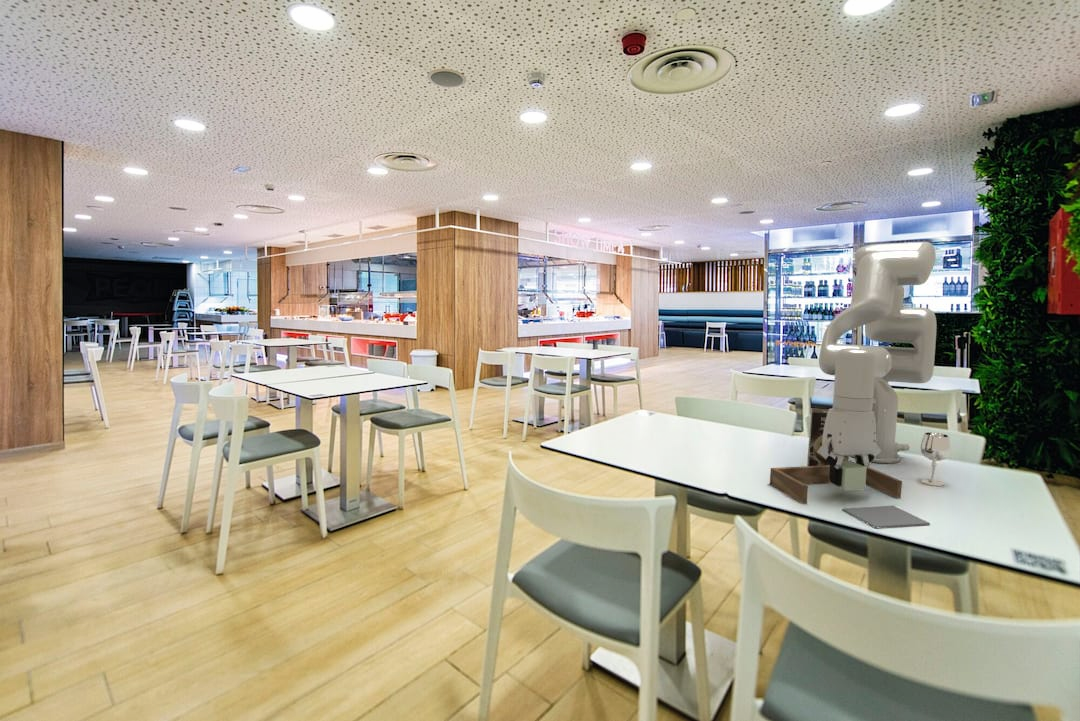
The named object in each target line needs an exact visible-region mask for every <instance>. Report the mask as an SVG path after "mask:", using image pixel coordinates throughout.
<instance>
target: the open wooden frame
mask: <svg viewBox="0 0 1080 721" xmlns="http://www.w3.org/2000/svg"><path fill="white" fill-rule="evenodd" d="M829 473H830V465H824V466H807V465H806V466H803V465H801V466H783V467H770V472H769V475H770V476H769V484H770V485H771V486H773V487H774V488H776V489H777V490H779V491H781V492H783V493H784V494H786V495H788V496H789V497H791V498H792V499H794V500H796V501H798V502H799V503H801V504H802V503H805V504H808V491H809V490H808V488H809V486H808V484H825V482H829ZM866 485H867V486H869V487H871V488H873V489H875V490H877V491H880V492H882V493H884V494H887V495H888V496H890V497H893V498H895V499H901V498H902V487H903V481H902V480H901V479H899V478H895V477H893V476H891V475H888V474H886V473H883V472H881V471H879V470H876V469H873V468H872V467H870V466H869V467H867V470H866V483H865V486H866Z"/></svg>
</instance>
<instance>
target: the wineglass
mask: <svg viewBox="0 0 1080 721" xmlns="http://www.w3.org/2000/svg"><path fill="white" fill-rule="evenodd" d="M951 448H952V447H951V441H950V436H949V435H948V434H944V433H939V432H931V431H930V432H929V431H928V432H925V433H924V434H923V437H922V440H921V442H920V452H921V454H922V456H924V457H925V458H926V459H928V460H931V461H932V462H931V477H930V478H929V479H928V478H924V479H921V480H920V482H922V483H923V484H926V485H930V486H937V487H942V486H944V485H945V484H944V483H943V482H942V481H939V480H937V479H936V478H935V469H936V467H937V462H939V461H944V460H947V459H948V457H949V456H950V454H951Z"/></svg>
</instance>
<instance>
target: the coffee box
mask: <svg viewBox="0 0 1080 721" xmlns="http://www.w3.org/2000/svg"><path fill="white" fill-rule="evenodd" d="M810 410H811V411H810V423H809V436H808V437H809V438H808V448H807V450H808V451H807V463H806V466H824V465H828V464H827V462H826V461H825V460H824V459H823V458H822V457H821V456H820V455H819V454H818V453H817V451H818V450H819V448H820V447H821V446H822V439H823V431H824V425H825V421H826V417H827V414H828V411H829V408H828V409H826V408H817V407H816V408H815V407H811V409H810ZM830 453H831V451H828V454H829V455H830ZM836 458H837V456H836ZM836 458H835V461H836ZM849 459H850V456H844V458H843V461H850V460H849Z"/></svg>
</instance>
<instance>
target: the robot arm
mask: <svg viewBox="0 0 1080 721" xmlns="http://www.w3.org/2000/svg"><path fill="white" fill-rule="evenodd" d="M935 263H936V249H935V247H934V245H933V243H931V242H928V241H911V242H891V243H877V244H876V243H875V244H869V245H865V246H861V247H859V248H857V250H856V251H855V253H854V265H855V267H856V274H855V280H854V284H853V289H852V294H851V301H850V305H849V306H848V307H847V308H845V309H844V310H842V311H841V312H840V313H838V314H837V316H835V317H834V318H833V319H832V320H831V322H830V323H829V324H828V325H827V327H826V329H825V331H824V333H823V338H822V341H821V345H820V350H819V354H818V355H819V357H818V358H819V359H818V366H819V368H820V370H821V372H822V373H824V374H826V375H829V376H834V382H833V398H832V407H831V408H828V410H829V411H828V414H827V417H826V421H825V425H824V431H823V439H822V446H821V447H820V448H819V450H818V451H817V453H818V454H819V455H820V456H821V457H822V458H823V459H824V460H825V461H826V462H827V464H828V465H830V473H829V481H830V482H831V483H833V484H835V485H837V486H841V484H842V469H841V468H840V466H841V464H842V461H843V458H844V456H849V457H852V458H854V459H855V461H854V462H855V463H857V464H860V465H862V466H865V467H869V468H870V463H879V464H895V463H899V462H901V455H900V454H898V453H899V452H901V451H902V452H907V451H909V450H911V449H910V445H909V444H908V443H900V444H899V443H898V442H896V434H897V421H898V409H899V397H898V394H897V392H896V390H894V388H893V387H892V386H891V385H890V384H889V382H890V383H891V382H892V383H893V382H894V383H907V384H926V383H928V382H929V381H931V379H932V377H933V375H934V368H935V356H936V355H935V354H936V341H937V326H938V325H937V318H936V313H934V311H933V310H932V309H930V308H926V307H905V306H904V295H905V289H904V286H920V285H924V284H925V283H926V282H927V281H928V280H929V278H930V275H931V273H932V271H933V269H934V267H935ZM862 326H864V331H865V332H864V333H865V336H866V338H867V339H869V340H870V341H874V342H880V343H881V342H883V343H897V344H898V343H902V344H911V345H913V347H900V346H899V347H897V346H886V345H885V346H884V345H883V346H879V345H864V344H863V345H860V344H845V343H843V344H842V343H841V344H840V343H838V341H839V340H840V339H841V337H842V336H843V335H844V334H846V333H847V332H849V331H852V330H853V329H856V328H859V327H862ZM828 451H831V453H830V455H829V454H828ZM836 456H837V458H836ZM835 458H836V461H835ZM831 483H830V484H831ZM833 484H832V485H833ZM835 485H834V486H835ZM837 486H836V487H837Z"/></svg>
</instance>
